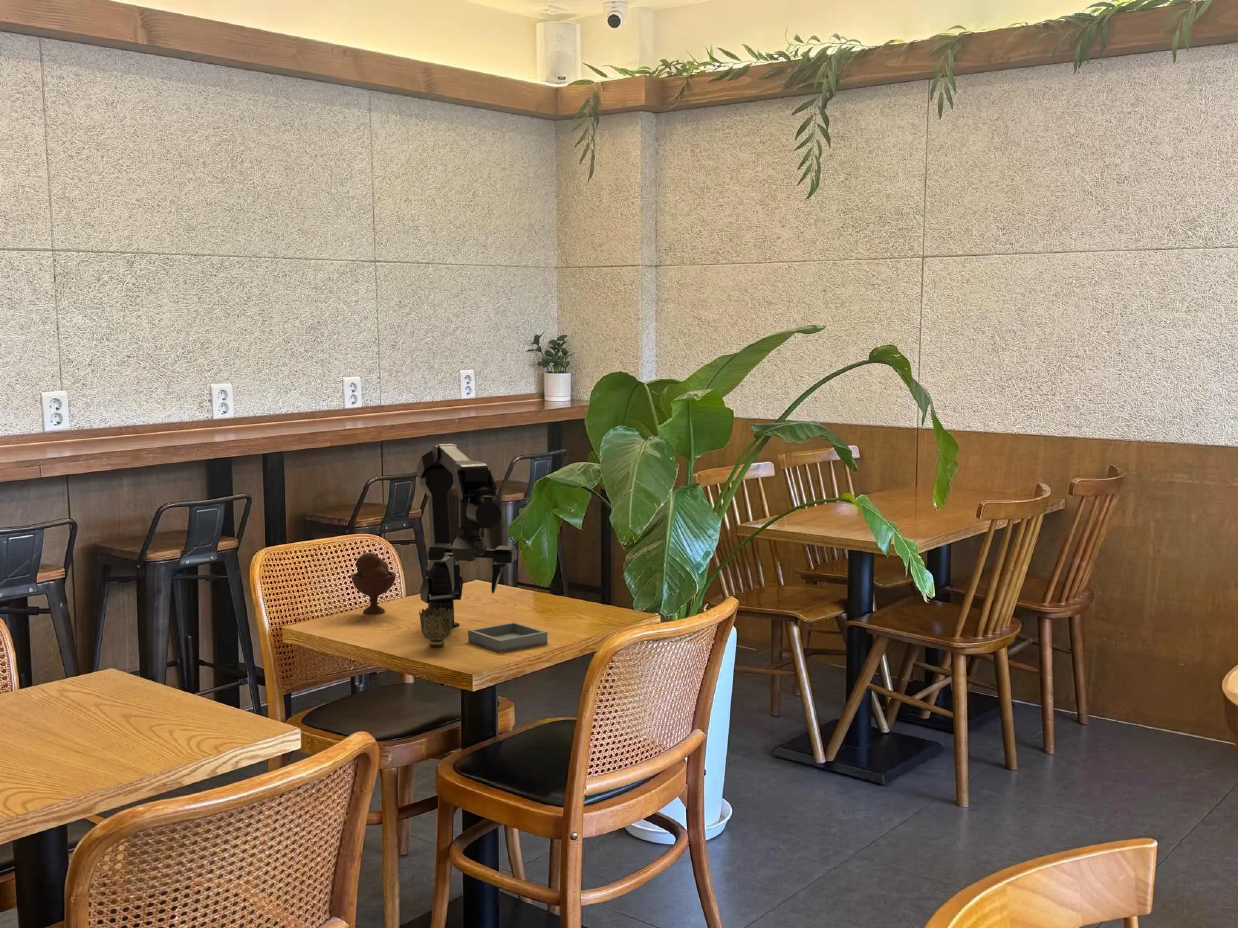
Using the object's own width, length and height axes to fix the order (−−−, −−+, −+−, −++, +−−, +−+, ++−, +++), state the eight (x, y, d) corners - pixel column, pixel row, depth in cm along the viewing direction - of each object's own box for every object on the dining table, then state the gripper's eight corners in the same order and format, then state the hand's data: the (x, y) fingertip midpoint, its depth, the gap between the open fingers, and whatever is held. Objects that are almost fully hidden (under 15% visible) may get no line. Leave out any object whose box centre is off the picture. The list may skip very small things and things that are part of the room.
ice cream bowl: (392, 617, 298) (391, 556, 297) (346, 616, 298) (345, 555, 297) (400, 607, 309) (399, 548, 307) (356, 607, 309) (355, 548, 307)
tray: (468, 641, 274) (468, 630, 274) (514, 632, 282) (514, 622, 282) (500, 652, 265) (500, 640, 264) (547, 643, 273) (547, 631, 272)
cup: (447, 651, 265) (446, 614, 265) (414, 649, 267) (414, 613, 266) (458, 642, 273) (458, 607, 272) (426, 641, 274) (426, 605, 273)
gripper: (419, 526, 259) (419, 598, 261) (505, 529, 257) (505, 602, 258) (434, 517, 270) (435, 587, 272) (517, 520, 268) (517, 590, 269)
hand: (472, 592), depth 268 cm, fingers open, 9 cm apart
